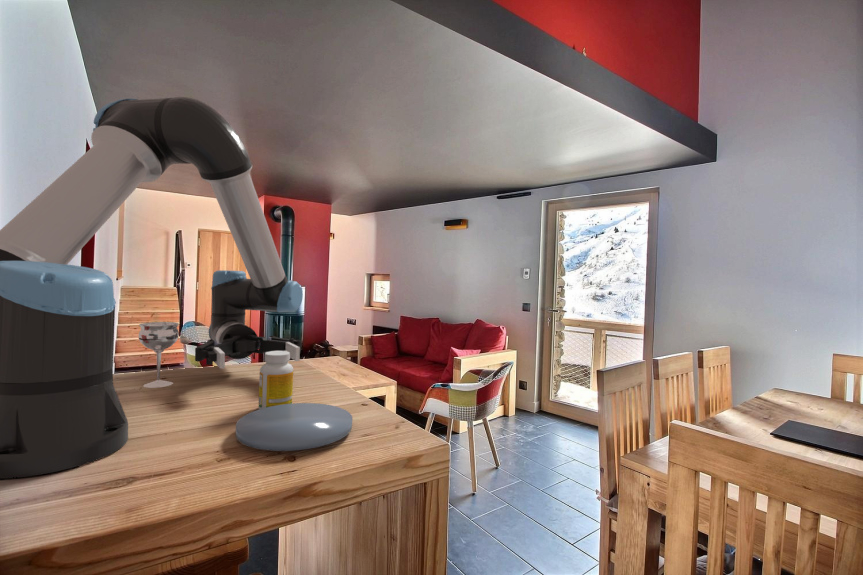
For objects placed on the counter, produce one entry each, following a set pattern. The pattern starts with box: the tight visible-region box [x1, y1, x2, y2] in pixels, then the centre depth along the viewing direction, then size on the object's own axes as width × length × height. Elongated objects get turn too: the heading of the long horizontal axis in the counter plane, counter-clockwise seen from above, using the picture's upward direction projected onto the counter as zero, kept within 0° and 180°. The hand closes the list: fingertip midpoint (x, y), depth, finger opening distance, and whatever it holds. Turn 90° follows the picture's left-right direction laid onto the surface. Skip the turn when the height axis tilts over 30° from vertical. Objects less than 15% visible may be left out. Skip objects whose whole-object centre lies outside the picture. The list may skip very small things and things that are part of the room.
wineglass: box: [138, 321, 180, 389], centre depth 85 cm, size 7×7×12 cm
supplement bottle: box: [258, 351, 294, 410], centre depth 73 cm, size 5×5×10 cm
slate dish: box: [235, 402, 353, 452], centre depth 62 cm, size 16×16×2 cm
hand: (262, 357), depth 81 cm, fingers open, 13 cm apart
